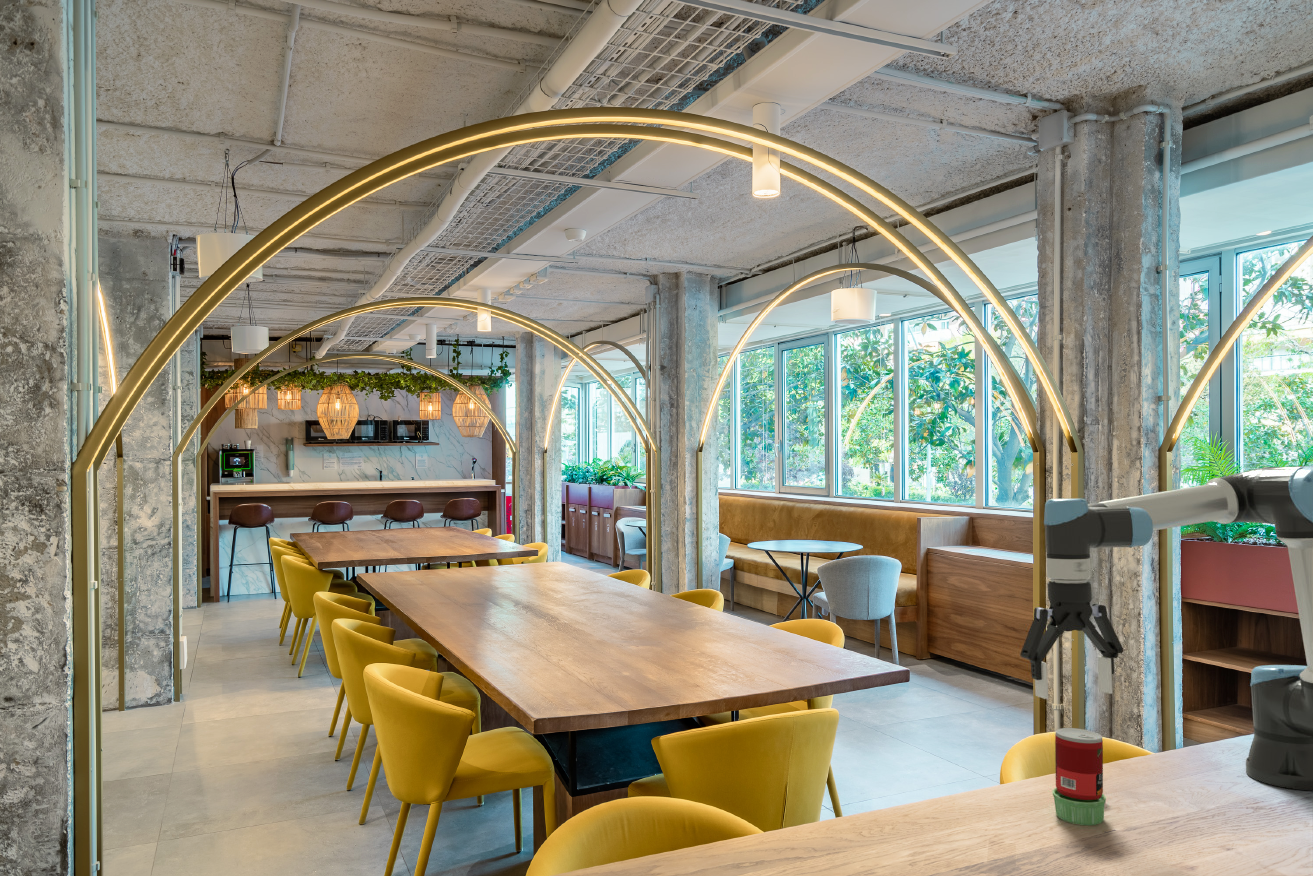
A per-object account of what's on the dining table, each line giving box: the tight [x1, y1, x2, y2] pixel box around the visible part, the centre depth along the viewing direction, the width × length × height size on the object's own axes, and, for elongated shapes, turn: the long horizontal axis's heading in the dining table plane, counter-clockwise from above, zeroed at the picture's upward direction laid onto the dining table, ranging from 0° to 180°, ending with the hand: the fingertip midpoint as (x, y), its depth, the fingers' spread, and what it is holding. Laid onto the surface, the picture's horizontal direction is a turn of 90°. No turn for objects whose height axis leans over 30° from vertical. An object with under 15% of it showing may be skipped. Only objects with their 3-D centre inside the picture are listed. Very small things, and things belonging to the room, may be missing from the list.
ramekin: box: [1052, 787, 1107, 826], centre depth 165 cm, size 9×9×4 cm
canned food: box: [1054, 727, 1104, 800], centre depth 166 cm, size 8×8×11 cm
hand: (1074, 694), depth 166 cm, fingers open, 13 cm apart
